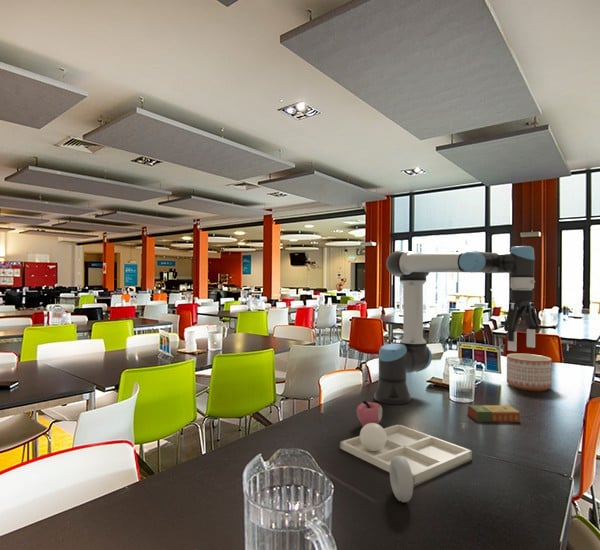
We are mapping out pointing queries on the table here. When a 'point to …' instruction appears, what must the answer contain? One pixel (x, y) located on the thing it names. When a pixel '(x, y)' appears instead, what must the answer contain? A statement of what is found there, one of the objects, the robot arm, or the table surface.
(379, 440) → the white ball
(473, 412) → the carton
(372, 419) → the apple
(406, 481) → the white thick disc
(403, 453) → the tray
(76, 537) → the table surface
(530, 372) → the planter
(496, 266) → the robot arm
